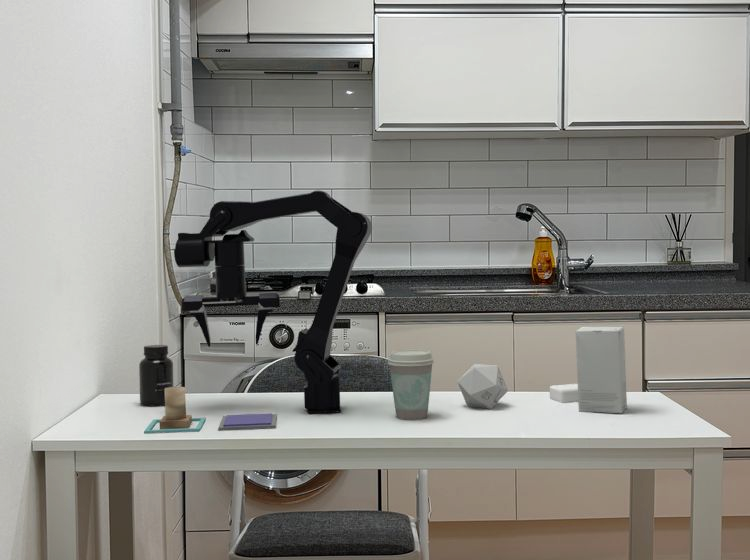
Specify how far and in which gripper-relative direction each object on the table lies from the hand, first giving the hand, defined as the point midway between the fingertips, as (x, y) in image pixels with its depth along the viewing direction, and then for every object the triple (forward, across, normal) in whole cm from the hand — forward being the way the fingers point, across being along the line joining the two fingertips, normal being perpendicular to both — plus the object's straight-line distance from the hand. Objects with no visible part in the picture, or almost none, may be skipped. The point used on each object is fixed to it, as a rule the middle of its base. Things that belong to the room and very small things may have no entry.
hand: (233, 345), depth 165 cm
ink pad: (+13, -3, +13) cm, 19 cm away
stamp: (+13, +10, +13) cm, 21 cm away
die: (+14, -48, +8) cm, 50 cm away
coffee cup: (+14, -33, +14) cm, 38 cm away
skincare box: (+14, -69, +16) cm, 72 cm away
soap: (+14, -68, +5) cm, 69 cm away
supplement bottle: (+13, +16, -11) cm, 23 cm away
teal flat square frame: (+13, +10, +12) cm, 21 cm away
